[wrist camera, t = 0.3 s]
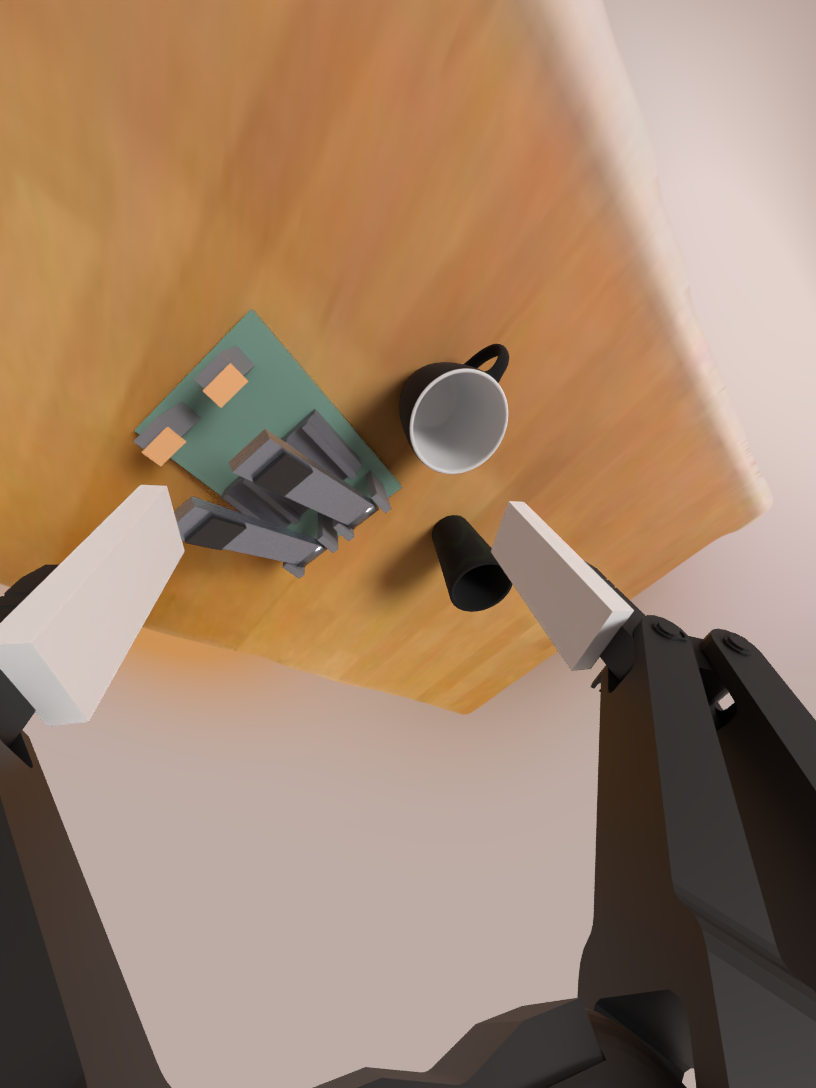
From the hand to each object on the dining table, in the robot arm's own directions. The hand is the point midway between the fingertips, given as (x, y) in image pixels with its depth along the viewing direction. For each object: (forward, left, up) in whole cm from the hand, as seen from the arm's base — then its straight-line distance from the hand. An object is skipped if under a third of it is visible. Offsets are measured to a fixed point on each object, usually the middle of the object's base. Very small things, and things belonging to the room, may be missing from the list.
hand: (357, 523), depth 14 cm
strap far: (+3, -13, -17) cm, 22 cm away
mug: (+7, +9, -26) cm, 29 cm away
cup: (+24, 0, -26) cm, 35 cm away
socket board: (+2, -9, -26) cm, 28 cm away
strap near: (+3, -6, -17) cm, 18 cm away
